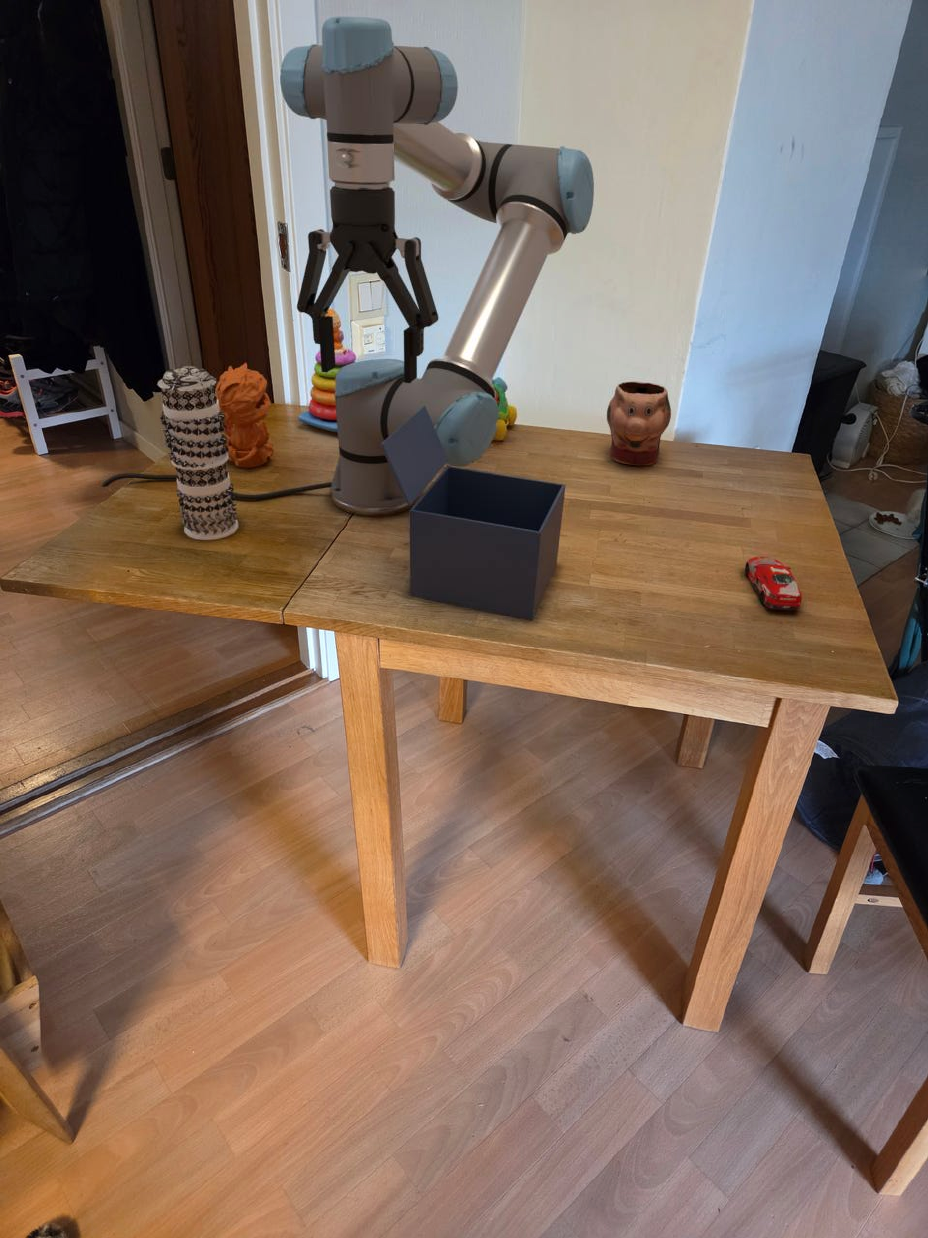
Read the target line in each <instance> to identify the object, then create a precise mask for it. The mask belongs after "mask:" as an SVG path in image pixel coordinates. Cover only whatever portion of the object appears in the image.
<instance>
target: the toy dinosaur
mask: <svg viewBox="0 0 928 1238" xmlns="http://www.w3.org/2000/svg"><path fill="white" fill-rule="evenodd" d="M267 387H268V381H267V379H266V378H265V376H264V375H263V374H261V373H260V372H259V371H256V370H252V369H250V368H248V363H247V362H245V363H244V364H242V365H240V366H239V367H236V368H234V369H233V366H232V365H229V366H228V368H227V370H224V372H223V373H222V374H221V375H220V376H219V380H218V382H216V385H215V389H216V398H217V399H218V401H219V408H220V411H221V412H223V413H224V414H225V418H224V420H223V421H222V422H224V423H225V424H226V426H227V428H226V429H225V430H224V431H222V433H224V435H225V436H228V438H227V439H228V440H227V441H226V443H225V445H227V446H228V448H229V451H228V452H227V453H228V458H229V461H233V463H234V465H235V466H236V467H239V468H246V469H247V468H248V469H251V468H257V467H261V466H263V465H264V464H266V463H267V462H268V460H267V459H268V458H269V460H273V459H274V457H273V453H274V452H275V451H274V448H273V447H274V445H273V444H272V443H270V436H271V434H270V432H269V429H268V424H267V422H266V421H265V420H264V419H266V418H267V417H268V412H269V410H270V408H271V406H272V404H271V403H272V402H271V400H270V397H269V395H268V393H266V391H267Z"/></svg>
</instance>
